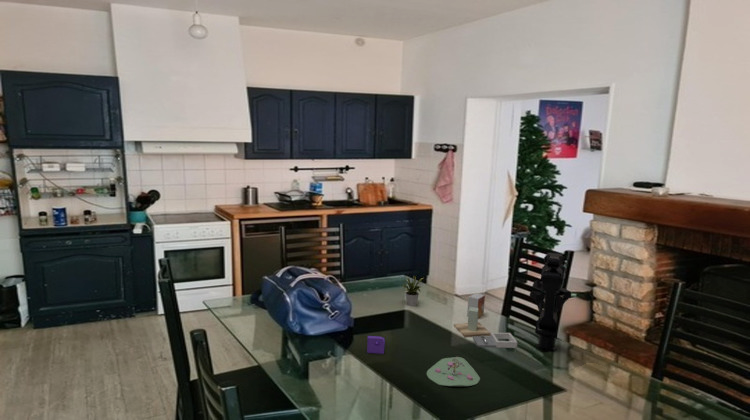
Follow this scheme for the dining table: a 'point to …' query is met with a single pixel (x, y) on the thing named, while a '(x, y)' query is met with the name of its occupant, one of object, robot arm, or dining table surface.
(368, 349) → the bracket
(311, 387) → the dining table surface
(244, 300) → the dining table surface
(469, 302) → the small box
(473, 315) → the block
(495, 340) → the equipment case
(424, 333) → the dining table surface
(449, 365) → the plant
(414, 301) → the house plant
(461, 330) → the oak pad
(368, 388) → the dining table surface
